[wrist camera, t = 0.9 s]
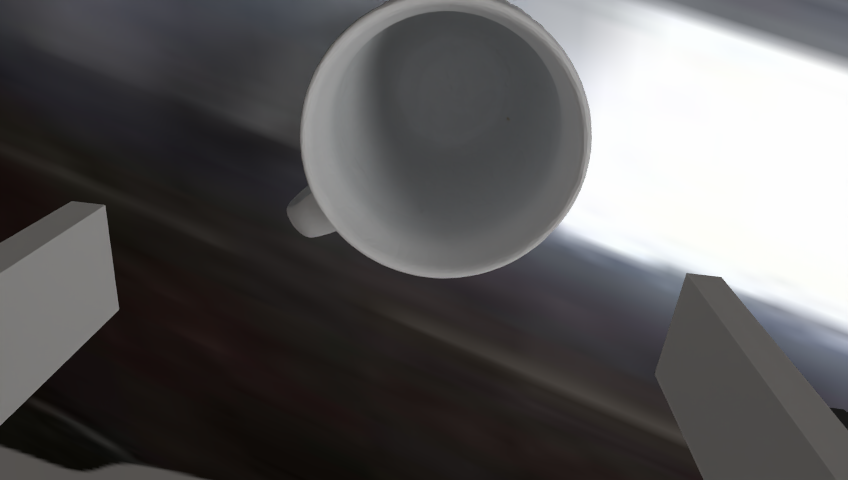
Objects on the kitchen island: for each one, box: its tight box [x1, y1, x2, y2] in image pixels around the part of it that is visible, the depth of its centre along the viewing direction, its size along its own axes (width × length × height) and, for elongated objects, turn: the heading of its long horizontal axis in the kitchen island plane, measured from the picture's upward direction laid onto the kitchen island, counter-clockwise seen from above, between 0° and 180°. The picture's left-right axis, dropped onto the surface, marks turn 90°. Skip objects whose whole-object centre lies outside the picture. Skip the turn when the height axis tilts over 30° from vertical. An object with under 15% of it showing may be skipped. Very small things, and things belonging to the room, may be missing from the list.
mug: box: [287, 0, 592, 278], centre depth 29 cm, size 15×11×13 cm
